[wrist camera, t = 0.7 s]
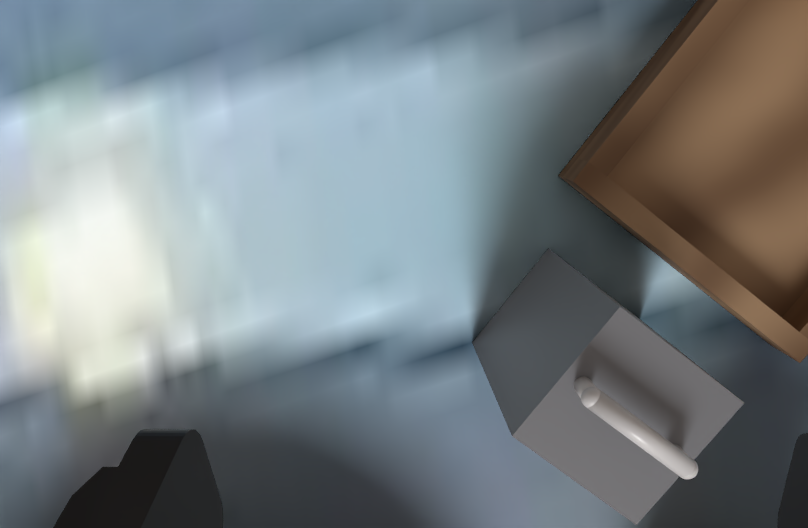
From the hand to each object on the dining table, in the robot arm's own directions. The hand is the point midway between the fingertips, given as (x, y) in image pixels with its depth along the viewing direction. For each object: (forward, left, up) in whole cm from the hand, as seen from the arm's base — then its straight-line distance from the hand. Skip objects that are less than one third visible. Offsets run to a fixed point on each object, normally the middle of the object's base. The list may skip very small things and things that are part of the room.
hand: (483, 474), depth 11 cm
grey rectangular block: (+9, 0, -24) cm, 25 cm away
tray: (+11, +12, -24) cm, 29 cm away
